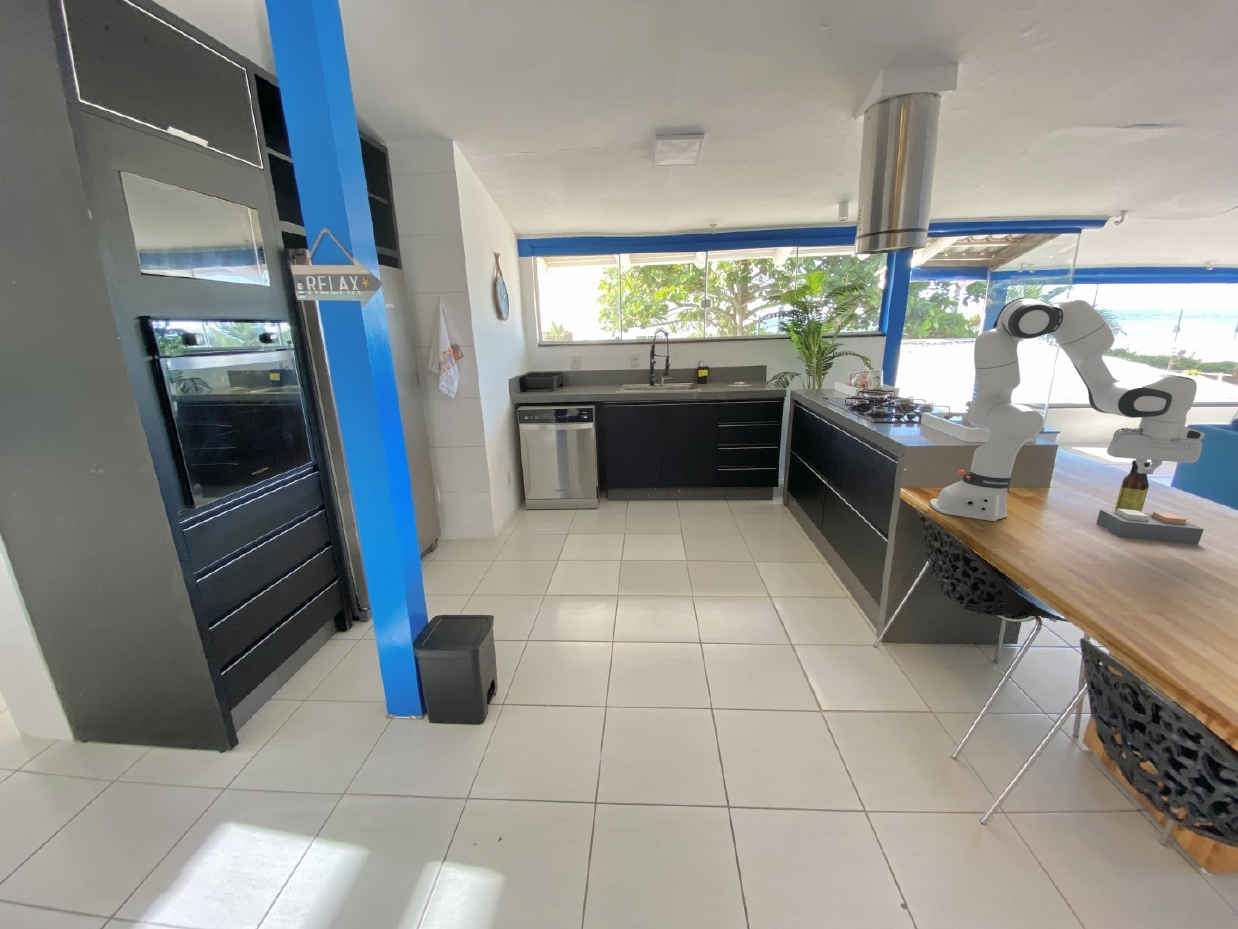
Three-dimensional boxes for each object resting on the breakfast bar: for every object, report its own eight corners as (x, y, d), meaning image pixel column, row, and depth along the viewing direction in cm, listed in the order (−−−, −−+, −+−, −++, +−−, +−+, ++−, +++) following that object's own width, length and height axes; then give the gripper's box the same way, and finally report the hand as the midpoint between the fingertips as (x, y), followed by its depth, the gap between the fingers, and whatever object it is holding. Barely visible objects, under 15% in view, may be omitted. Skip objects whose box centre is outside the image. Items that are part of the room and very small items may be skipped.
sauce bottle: (1144, 520, 158) (1163, 464, 152) (1122, 519, 159) (1140, 463, 154) (1128, 513, 164) (1146, 459, 159) (1107, 512, 165) (1124, 458, 160)
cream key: (1124, 526, 147) (1128, 514, 146) (1113, 520, 152) (1117, 508, 151) (1144, 527, 146) (1148, 516, 145) (1133, 521, 150) (1137, 510, 149)
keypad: (1118, 536, 146) (1123, 521, 144) (1096, 523, 156) (1100, 509, 154) (1198, 544, 140) (1203, 529, 139) (1169, 530, 150) (1174, 515, 149)
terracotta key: (1161, 529, 144) (1165, 517, 143) (1149, 523, 149) (1153, 511, 148) (1182, 531, 143) (1186, 519, 142) (1169, 525, 148) (1173, 513, 146)
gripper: (1123, 428, 140) (1109, 472, 144) (1212, 434, 134) (1195, 480, 138) (1109, 425, 146) (1096, 467, 150) (1194, 430, 140) (1178, 474, 144)
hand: (1144, 473), depth 144 cm, fingers closed
